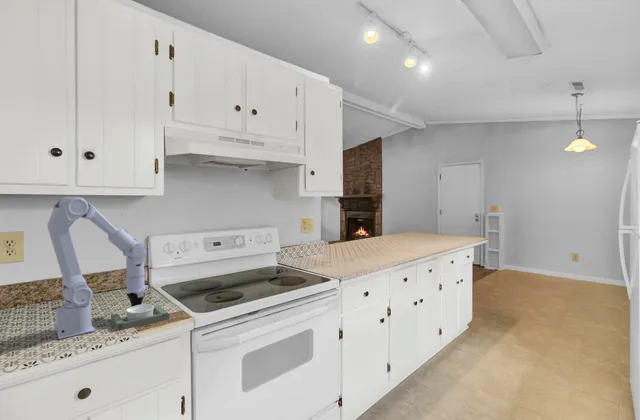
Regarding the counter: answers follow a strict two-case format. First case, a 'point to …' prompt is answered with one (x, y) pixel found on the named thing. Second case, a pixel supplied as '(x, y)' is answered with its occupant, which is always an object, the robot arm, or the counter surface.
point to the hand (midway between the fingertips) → (136, 312)
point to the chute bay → (159, 316)
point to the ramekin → (139, 311)
